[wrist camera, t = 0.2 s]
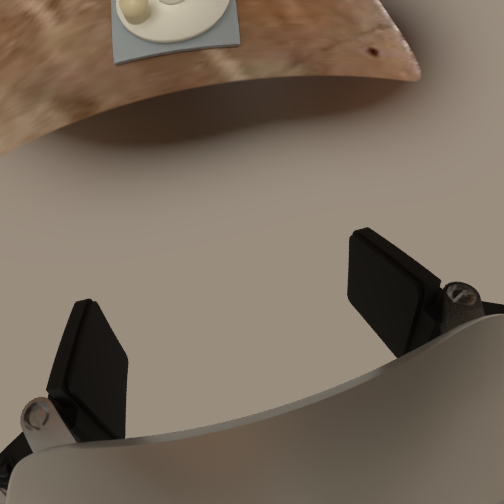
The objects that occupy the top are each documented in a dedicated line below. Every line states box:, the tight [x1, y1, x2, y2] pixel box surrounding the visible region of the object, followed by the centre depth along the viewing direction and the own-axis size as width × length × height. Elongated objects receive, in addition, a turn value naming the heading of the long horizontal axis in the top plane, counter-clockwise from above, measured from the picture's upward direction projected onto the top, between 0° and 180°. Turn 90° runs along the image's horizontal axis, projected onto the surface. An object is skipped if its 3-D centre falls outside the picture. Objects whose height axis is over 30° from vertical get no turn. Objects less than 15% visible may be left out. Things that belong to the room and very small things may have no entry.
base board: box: [111, 0, 240, 65], centre depth 25 cm, size 16×16×2 cm
